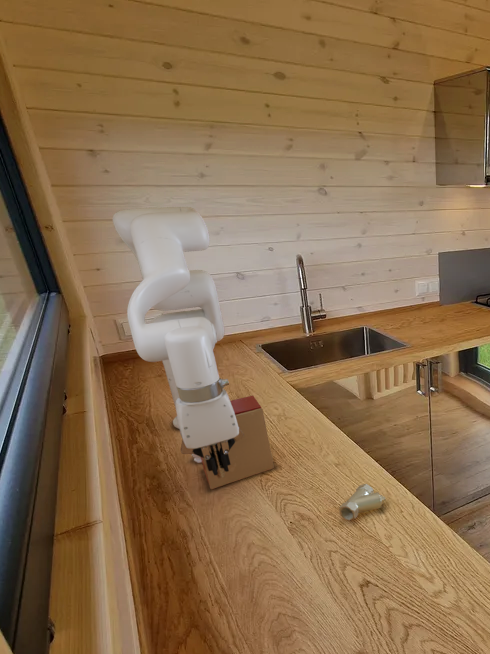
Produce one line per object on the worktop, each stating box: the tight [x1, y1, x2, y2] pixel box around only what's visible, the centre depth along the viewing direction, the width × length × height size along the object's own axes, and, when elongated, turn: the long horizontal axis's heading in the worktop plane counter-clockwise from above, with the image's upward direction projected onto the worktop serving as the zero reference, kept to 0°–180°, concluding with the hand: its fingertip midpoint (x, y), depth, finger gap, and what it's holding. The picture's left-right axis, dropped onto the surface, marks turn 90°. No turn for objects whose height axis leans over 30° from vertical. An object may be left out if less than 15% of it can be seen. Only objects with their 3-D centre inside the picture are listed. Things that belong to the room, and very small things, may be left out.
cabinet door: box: [202, 407, 275, 490], centre depth 108 cm, size 7×14×16 cm, turn 127°
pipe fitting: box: [338, 483, 387, 522], centre depth 100 cm, size 8×4×7 cm
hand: (220, 470), depth 102 cm, fingers closed
